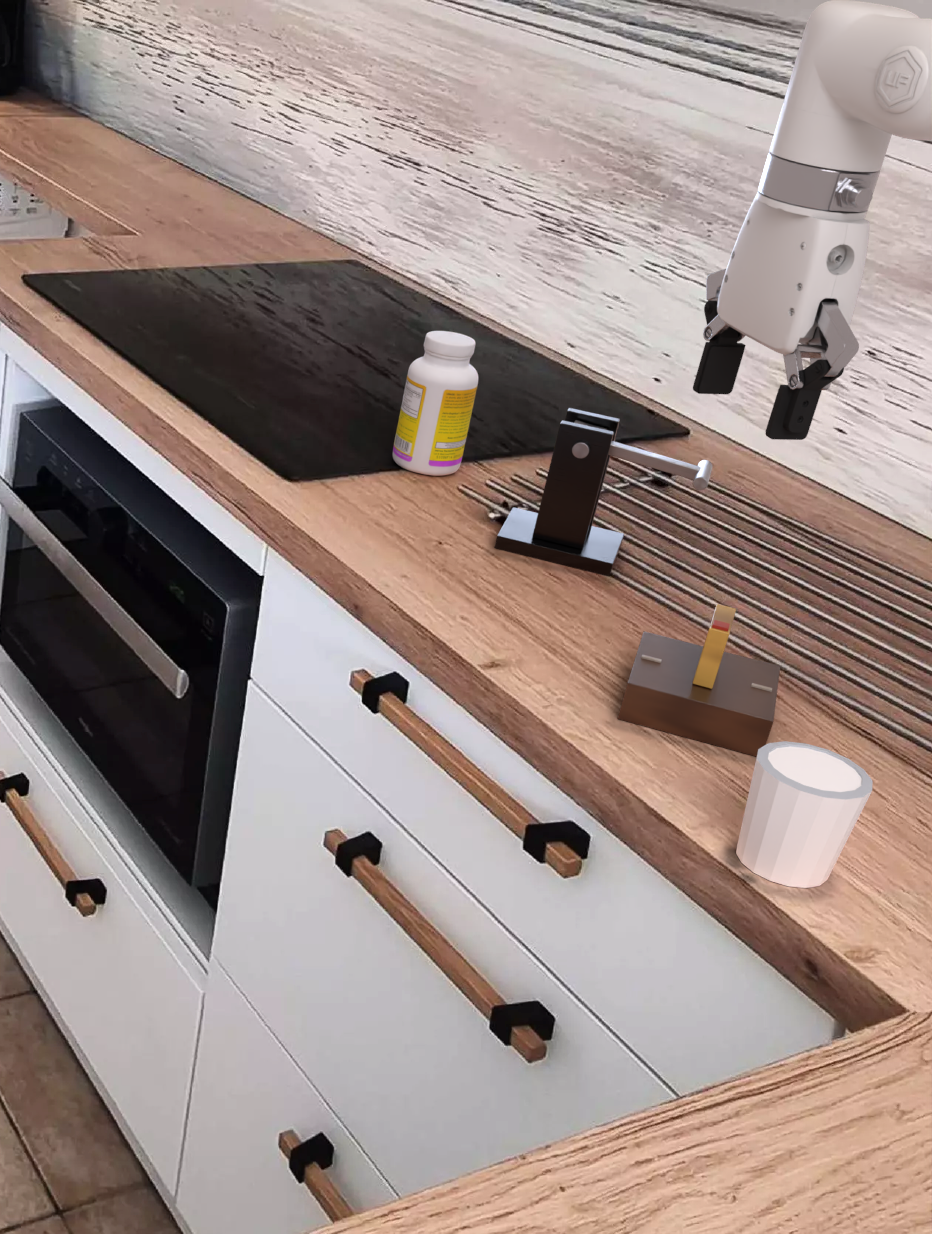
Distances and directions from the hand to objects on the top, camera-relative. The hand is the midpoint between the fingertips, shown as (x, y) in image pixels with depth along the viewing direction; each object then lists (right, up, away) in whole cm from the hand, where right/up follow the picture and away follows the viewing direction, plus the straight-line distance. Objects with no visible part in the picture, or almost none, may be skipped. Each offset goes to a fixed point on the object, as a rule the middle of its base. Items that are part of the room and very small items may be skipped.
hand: (747, 414), depth 132 cm
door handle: (-3, -2, +17) cm, 18 cm away
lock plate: (-5, -22, -3) cm, 23 cm away
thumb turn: (-5, -20, -5) cm, 21 cm away
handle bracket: (-8, -9, +23) cm, 25 cm away
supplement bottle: (-16, 0, +38) cm, 41 cm away
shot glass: (-7, -32, -21) cm, 39 cm away
